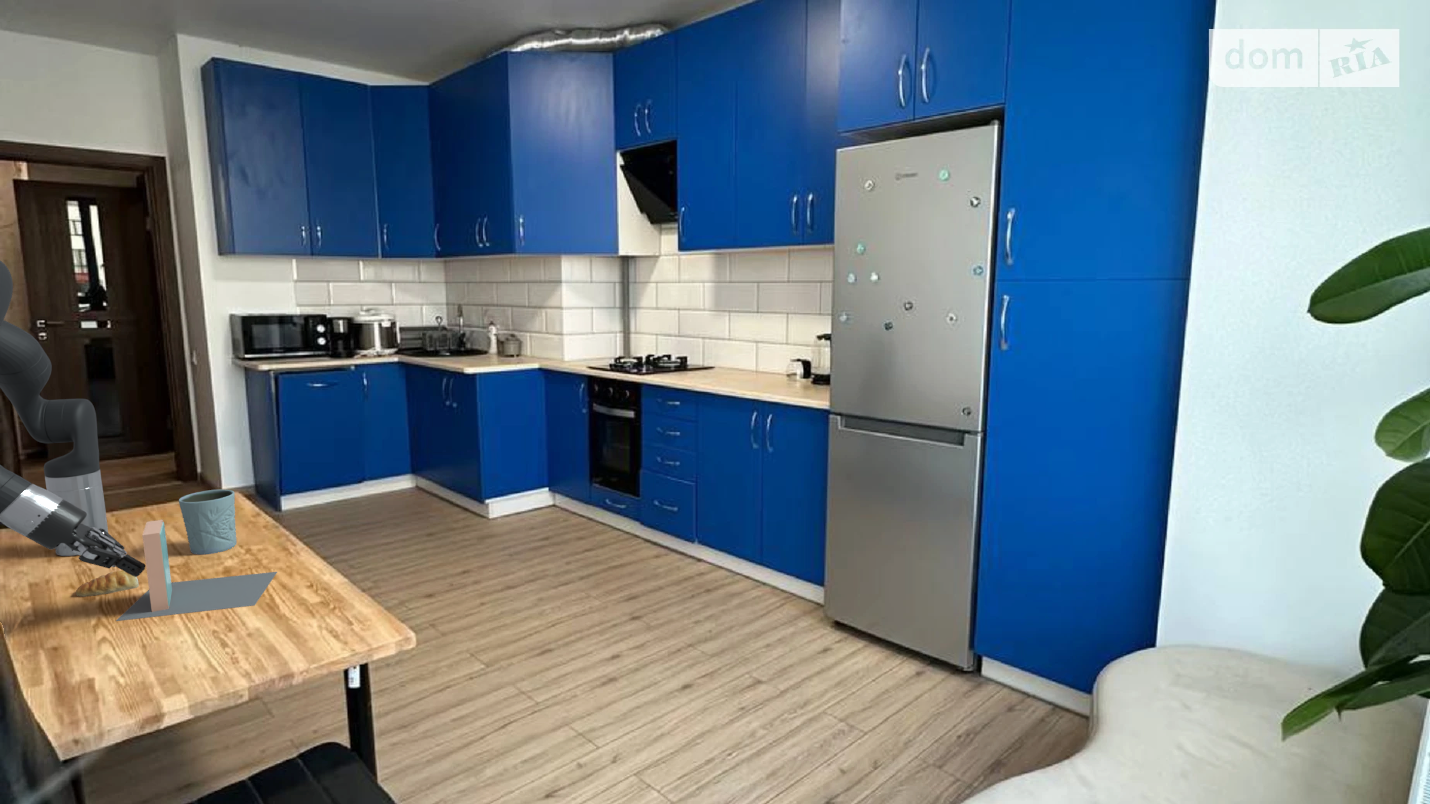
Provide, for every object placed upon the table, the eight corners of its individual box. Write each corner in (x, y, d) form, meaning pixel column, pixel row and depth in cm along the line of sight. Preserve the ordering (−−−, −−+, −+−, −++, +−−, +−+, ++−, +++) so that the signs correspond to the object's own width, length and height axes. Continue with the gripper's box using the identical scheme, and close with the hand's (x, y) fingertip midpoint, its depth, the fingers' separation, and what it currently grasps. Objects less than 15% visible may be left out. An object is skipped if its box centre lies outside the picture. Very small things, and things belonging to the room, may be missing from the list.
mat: (154, 587, 147) (154, 584, 147) (277, 574, 153) (277, 571, 153) (116, 624, 131) (115, 620, 131) (254, 608, 137) (254, 605, 137)
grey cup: (248, 545, 171) (243, 493, 169) (198, 559, 162) (192, 504, 160) (225, 537, 176) (220, 487, 174) (175, 550, 168) (169, 497, 166)
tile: (151, 611, 135) (142, 535, 133) (155, 594, 142) (146, 521, 140) (169, 608, 136) (160, 532, 134) (172, 591, 144) (163, 519, 141)
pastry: (78, 605, 140) (75, 585, 139) (75, 594, 145) (72, 575, 144) (141, 590, 146) (139, 571, 146) (137, 581, 151) (134, 562, 151)
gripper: (53, 508, 124) (155, 565, 132) (67, 489, 135) (161, 544, 143) (14, 545, 122) (120, 601, 130) (32, 524, 133) (129, 576, 141)
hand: (141, 571), depth 137 cm, fingers closed
